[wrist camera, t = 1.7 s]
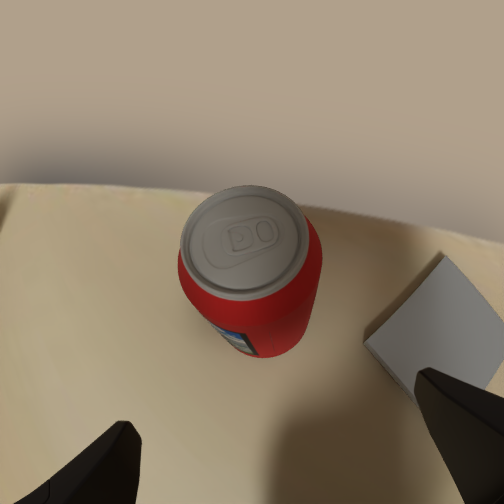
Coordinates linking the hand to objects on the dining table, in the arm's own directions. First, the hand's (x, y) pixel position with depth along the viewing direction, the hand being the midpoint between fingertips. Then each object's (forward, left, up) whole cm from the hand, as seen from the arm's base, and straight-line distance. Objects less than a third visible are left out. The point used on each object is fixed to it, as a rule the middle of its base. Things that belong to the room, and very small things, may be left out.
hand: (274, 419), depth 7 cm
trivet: (+13, -6, -13) cm, 19 cm away
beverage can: (+3, +6, -13) cm, 15 cm away
